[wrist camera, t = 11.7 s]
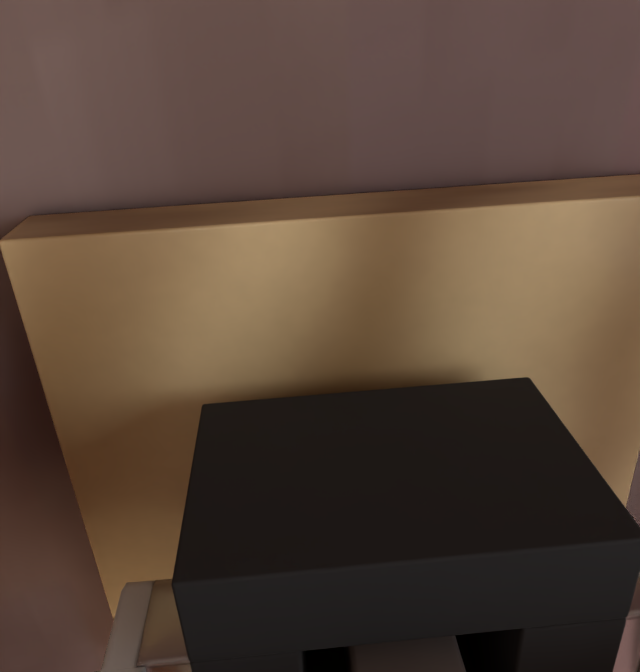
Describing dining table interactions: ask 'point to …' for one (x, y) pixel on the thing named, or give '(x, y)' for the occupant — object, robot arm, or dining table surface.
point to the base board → (320, 333)
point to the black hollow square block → (401, 532)
